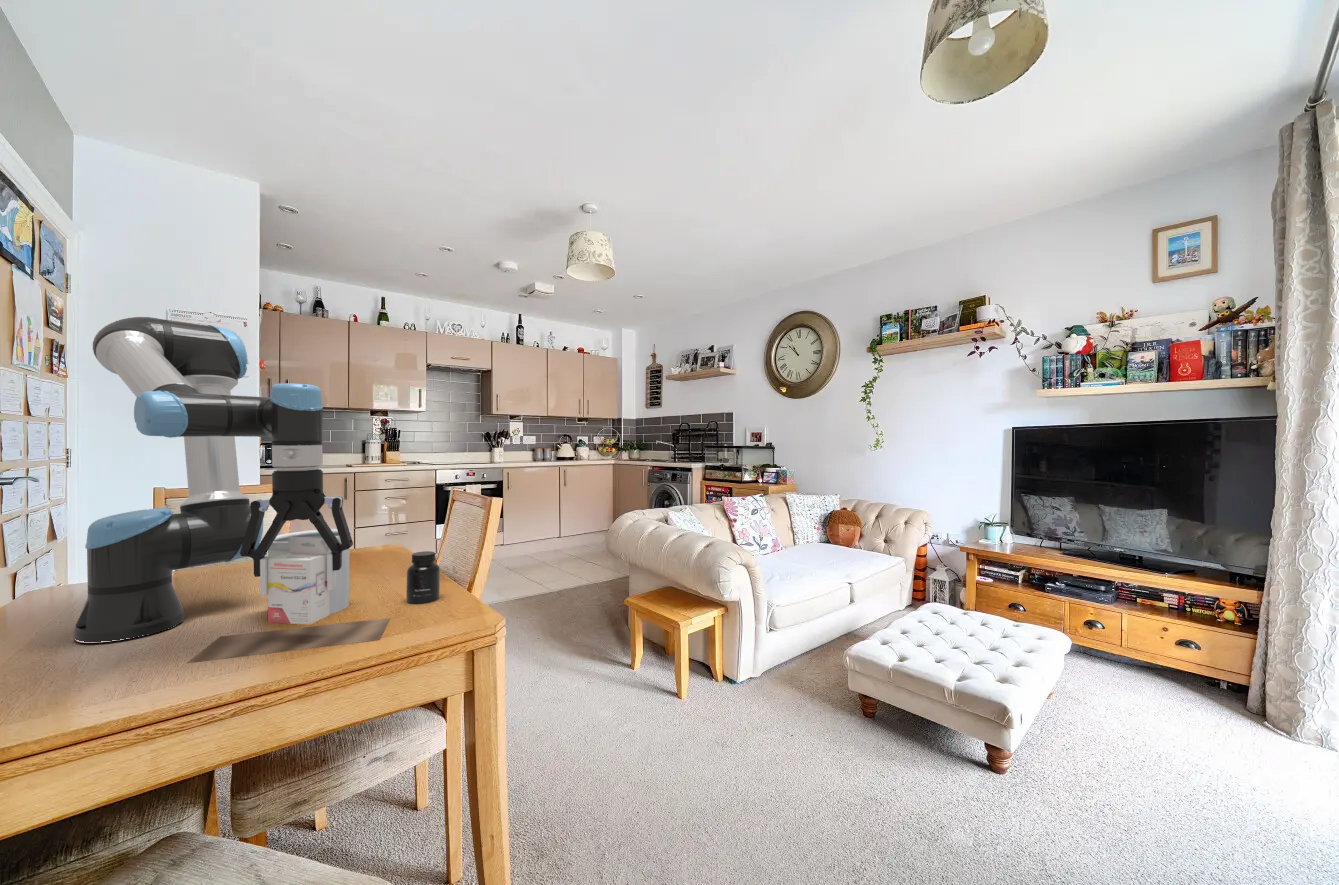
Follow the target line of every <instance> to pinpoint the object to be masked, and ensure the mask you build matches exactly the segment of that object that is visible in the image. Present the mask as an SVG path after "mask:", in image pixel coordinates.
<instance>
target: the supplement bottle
mask: <svg viewBox="0 0 1339 885" xmlns="http://www.w3.org/2000/svg"><path fill="white" fill-rule="evenodd" d="M435 561H436V552H435V551H429V550H428V551H426V550H425V551H417V552H414V553H412V554H411V563H412V564H411V565H409V566H408V567H407V570H406V603H407V604H410V605H424V604H425V605H426V604H429V603H433V602H436V601H438V600H439V599H440V593H441V592H440V587H441V584H440V582H441V580H440V579H441V577H440V576H441V575H440V574H441V568H440V565H439V564H437V563H436V562H435Z"/></svg>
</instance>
